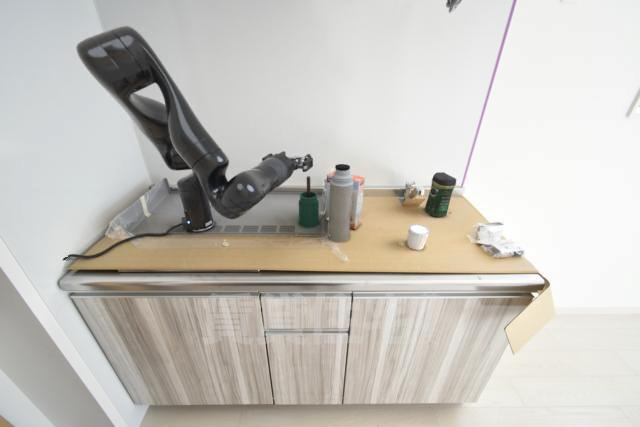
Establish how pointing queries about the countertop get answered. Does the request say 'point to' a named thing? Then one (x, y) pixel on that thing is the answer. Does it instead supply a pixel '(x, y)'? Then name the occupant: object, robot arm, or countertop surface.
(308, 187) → the bottle brush
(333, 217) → the thermos bottle
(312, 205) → the green bottle
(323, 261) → the countertop surface
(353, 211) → the cracker box
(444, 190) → the coffee jar
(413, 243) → the white ribbed cup
